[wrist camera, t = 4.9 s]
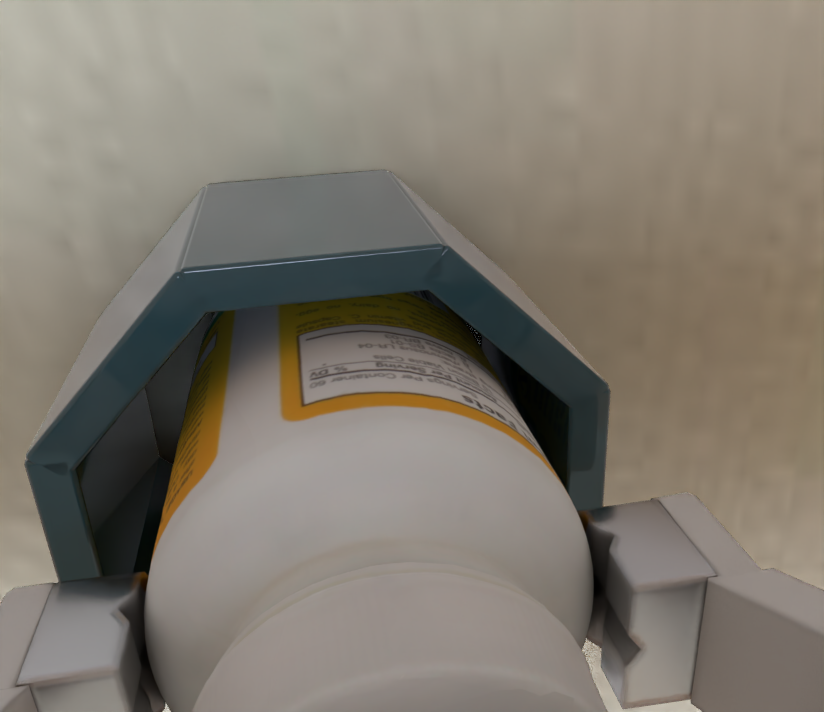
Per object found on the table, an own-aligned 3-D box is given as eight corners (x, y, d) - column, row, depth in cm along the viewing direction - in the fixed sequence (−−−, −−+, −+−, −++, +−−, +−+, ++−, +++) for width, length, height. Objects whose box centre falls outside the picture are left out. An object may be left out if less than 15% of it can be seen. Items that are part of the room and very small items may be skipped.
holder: (510, 158, 14) (623, 226, 10) (508, 509, 18) (592, 681, 13) (69, 194, 13) (-30, 288, 9) (151, 561, 17) (111, 767, 12)
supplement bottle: (384, 185, 14) (573, 472, 5) (512, 405, 16) (789, 853, 8) (133, 338, 14) (-67, 834, 6) (293, 533, 17) (321, 1096, 8)
